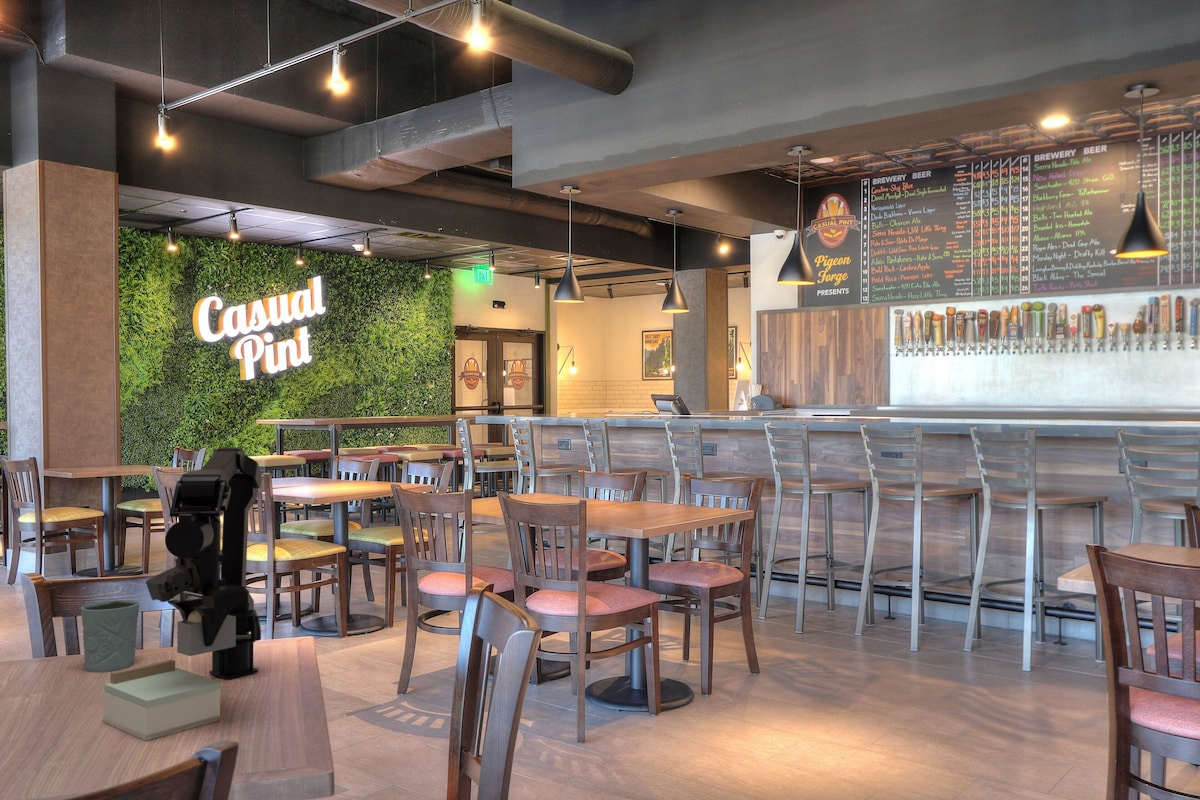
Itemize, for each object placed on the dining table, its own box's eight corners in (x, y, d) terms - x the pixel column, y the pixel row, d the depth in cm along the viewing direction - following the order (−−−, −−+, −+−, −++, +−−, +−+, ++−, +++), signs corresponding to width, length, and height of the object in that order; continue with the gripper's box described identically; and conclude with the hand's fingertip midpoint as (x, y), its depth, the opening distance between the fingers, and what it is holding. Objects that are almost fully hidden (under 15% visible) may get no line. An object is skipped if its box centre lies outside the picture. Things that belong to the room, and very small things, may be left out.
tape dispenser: (222, 643, 158) (222, 604, 158) (235, 646, 156) (235, 606, 156) (177, 652, 152) (177, 612, 152) (190, 656, 149) (190, 614, 150)
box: (175, 703, 158) (176, 673, 158) (220, 720, 149) (220, 688, 149) (102, 721, 149) (103, 690, 149) (145, 741, 140) (145, 707, 140)
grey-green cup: (79, 675, 175) (79, 611, 175) (81, 662, 184) (81, 602, 184) (139, 668, 179) (140, 606, 179) (138, 656, 188) (138, 597, 188)
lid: (177, 673, 158) (177, 658, 158) (221, 688, 149) (221, 672, 149) (104, 690, 148) (104, 674, 148) (146, 707, 140) (147, 690, 140)
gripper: (124, 550, 152) (123, 646, 152) (186, 560, 141) (185, 663, 141) (188, 543, 161) (188, 633, 161) (251, 551, 150) (250, 648, 150)
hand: (201, 644), depth 153 cm, fingers closed on tape dispenser, 4 cm apart
